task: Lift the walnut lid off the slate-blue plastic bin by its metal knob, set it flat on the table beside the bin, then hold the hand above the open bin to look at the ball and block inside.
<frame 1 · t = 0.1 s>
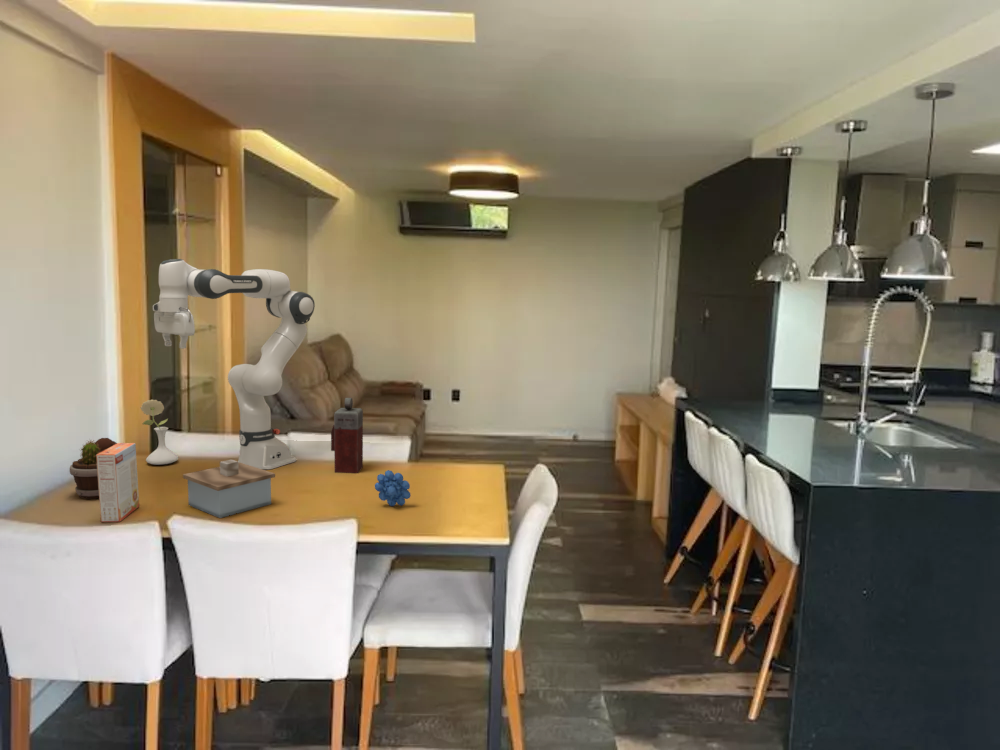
hand: (175, 347, 242), 48 cm above the table, tool pointing down, fingers open, 8 cm apart
ball: (243, 494, 226), point 3 cm above the table, touching bin
flowerpot: (96, 495, 233), on the table
red grey canister: (345, 470, 270), on the table
lid: (229, 477, 225), point 9 cm above the table, touching bin
flower in vase: (160, 463, 272), on the table
cracker box: (120, 515, 215), on the table
bin: (230, 504, 226), on the table
ice cream bowl: (109, 478, 251), on the table
small block: (216, 501, 226), point 1 cm above the table, touching bin
blue knobby flower shape: (392, 507, 228), on the table
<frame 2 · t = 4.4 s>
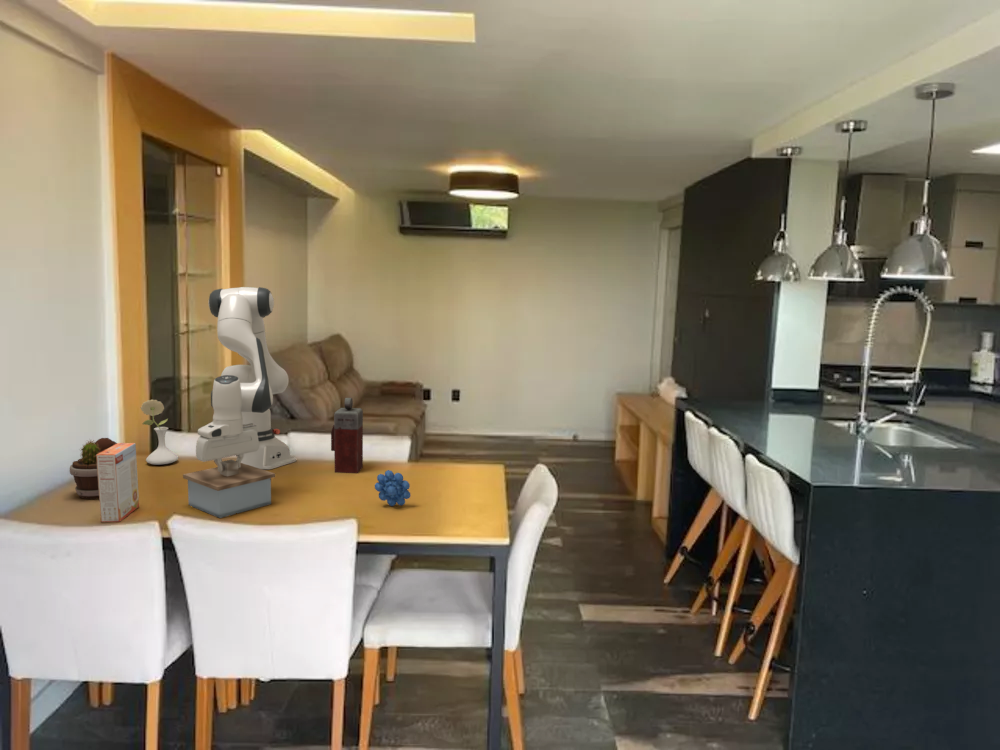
hand: (229, 469, 225), 12 cm above the table, tool pointing down, fingers closed on lid, 4 cm apart
lid: (229, 477, 225), point 9 cm above the table, touching bin, gripper
everything else where it was.
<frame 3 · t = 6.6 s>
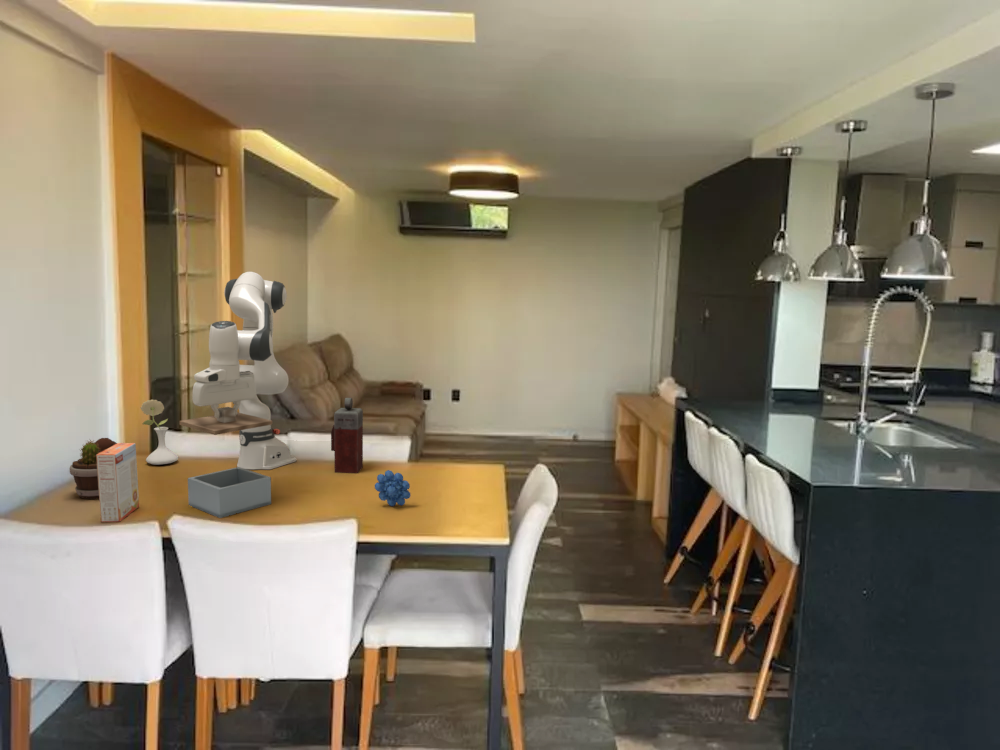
hand: (226, 416, 223), 29 cm above the table, tool pointing down, fingers closed on lid, 4 cm apart
lid: (226, 424, 223), point 26 cm above the table, touching gripper
everything else where it was.
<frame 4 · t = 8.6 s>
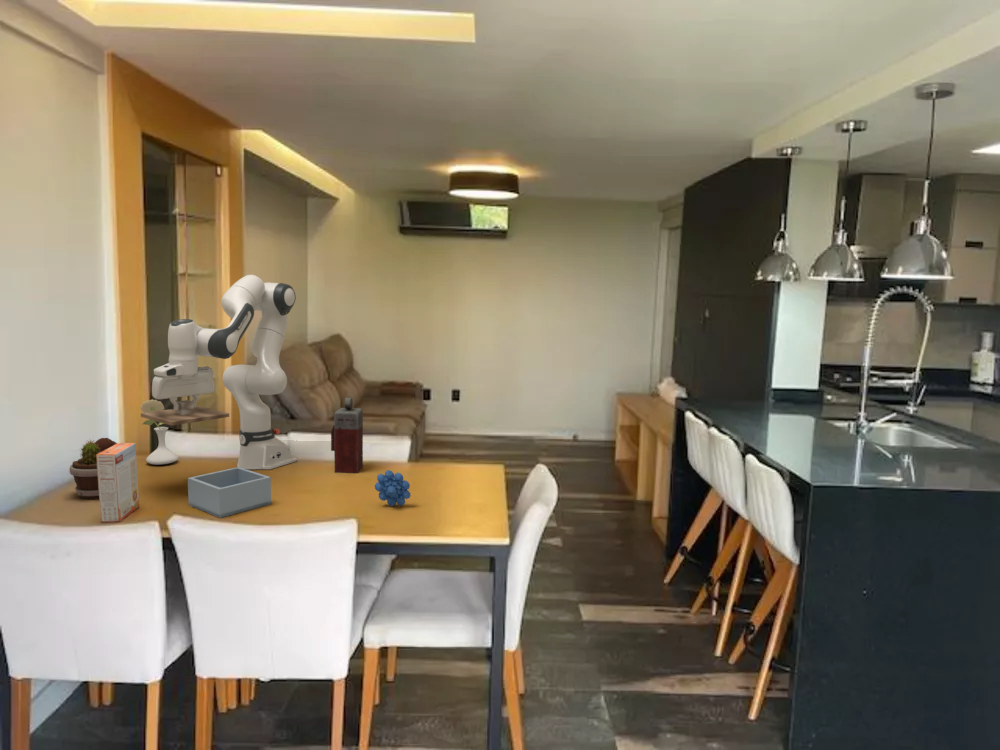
hand: (185, 409, 236), 28 cm above the table, tool pointing down, fingers closed on lid, 4 cm apart
lid: (185, 416, 236), point 26 cm above the table, touching gripper
everything else where it was.
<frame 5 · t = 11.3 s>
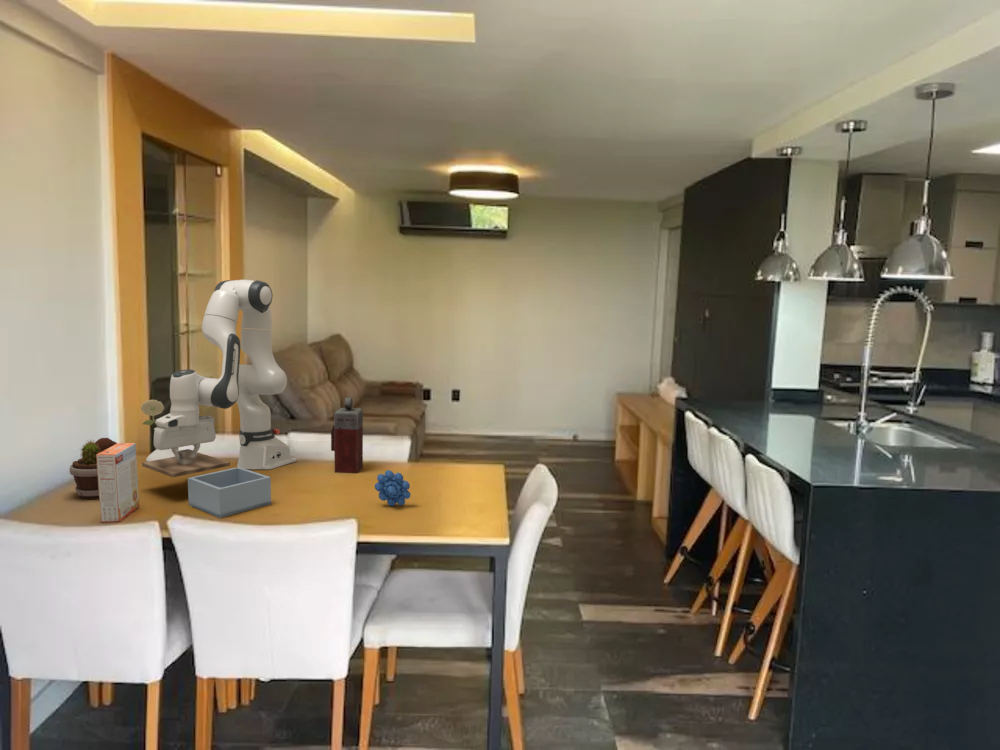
hand: (186, 458, 238), 11 cm above the table, tool pointing down, fingers closed on lid, 4 cm apart
lid: (186, 465, 238), point 9 cm above the table, touching gripper
everything else where it was.
when the fingers open (4 cm above the table, at t = 13.2 s): lid drops 2 cm, on the table.
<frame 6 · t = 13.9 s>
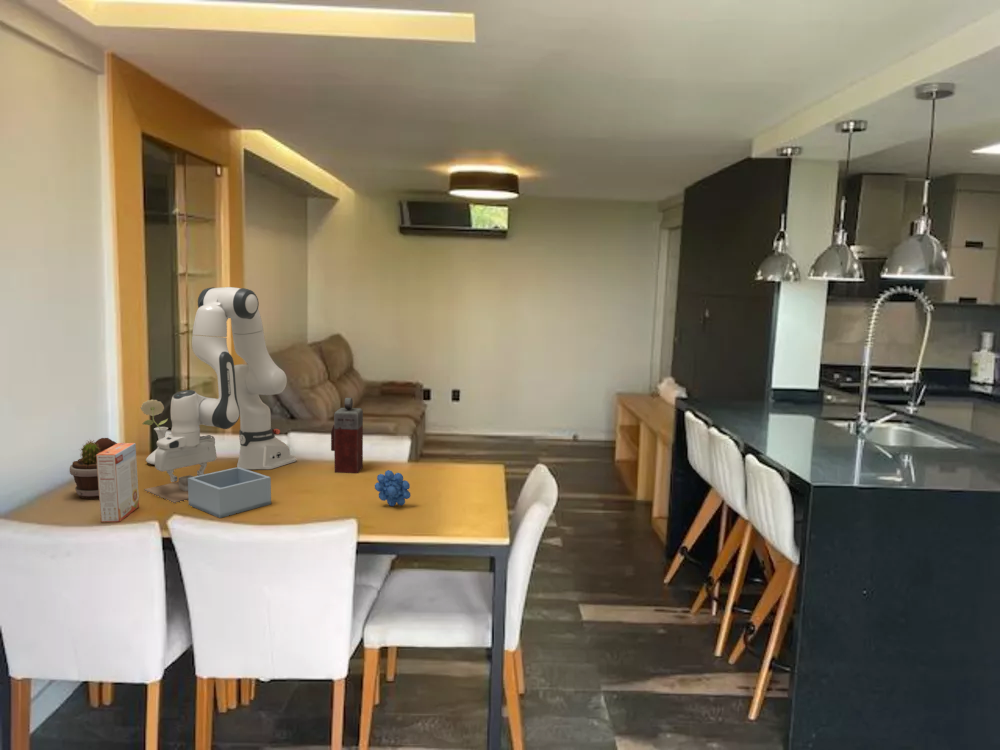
hand: (187, 478, 239), 4 cm above the table, tool pointing down, fingers open, 8 cm apart
lid: (187, 492, 240), on the table
everything else where it was.
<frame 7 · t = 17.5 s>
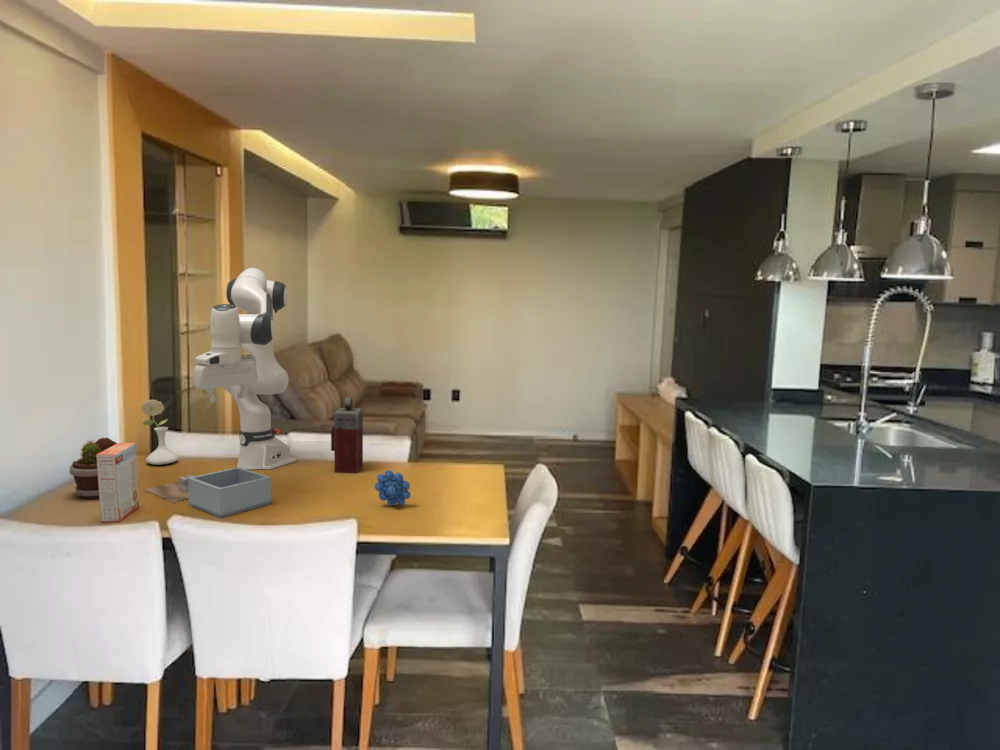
hand: (227, 400, 222), 34 cm above the table, tool pointing down, fingers open, 8 cm apart
nothing on the table moved.
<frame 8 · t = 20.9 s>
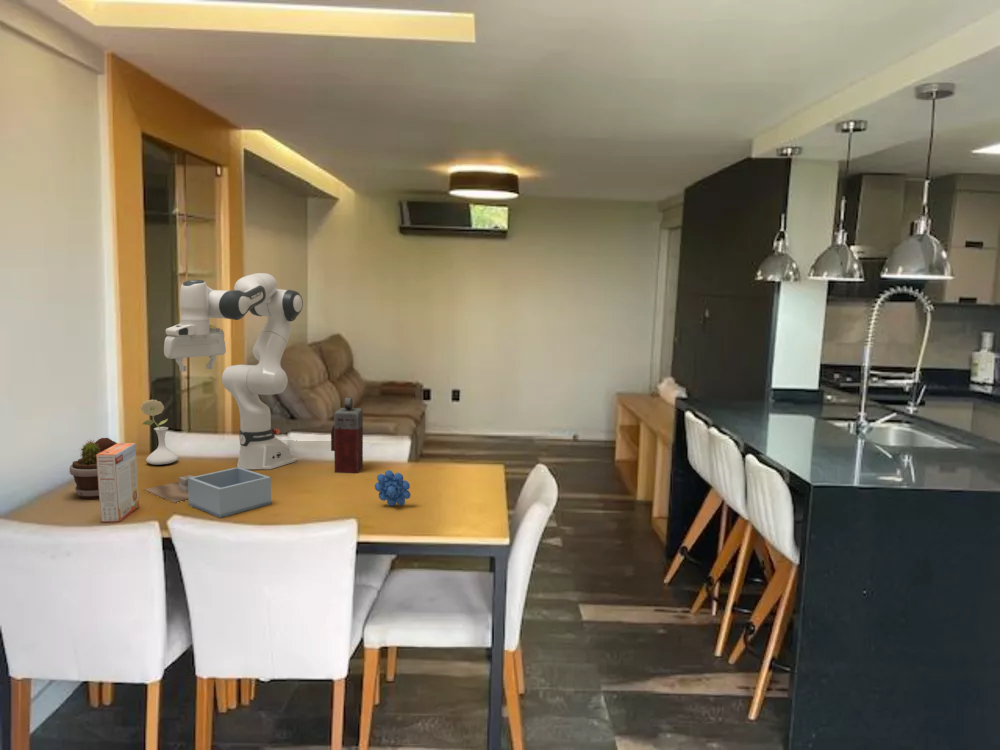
hand: (196, 370, 237), 41 cm above the table, tool pointing down, fingers open, 8 cm apart
nothing on the table moved.
at the end: lid touching table; lid inside the target area (0.0 cm from its centre), on the table; lid tilted 0° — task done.
